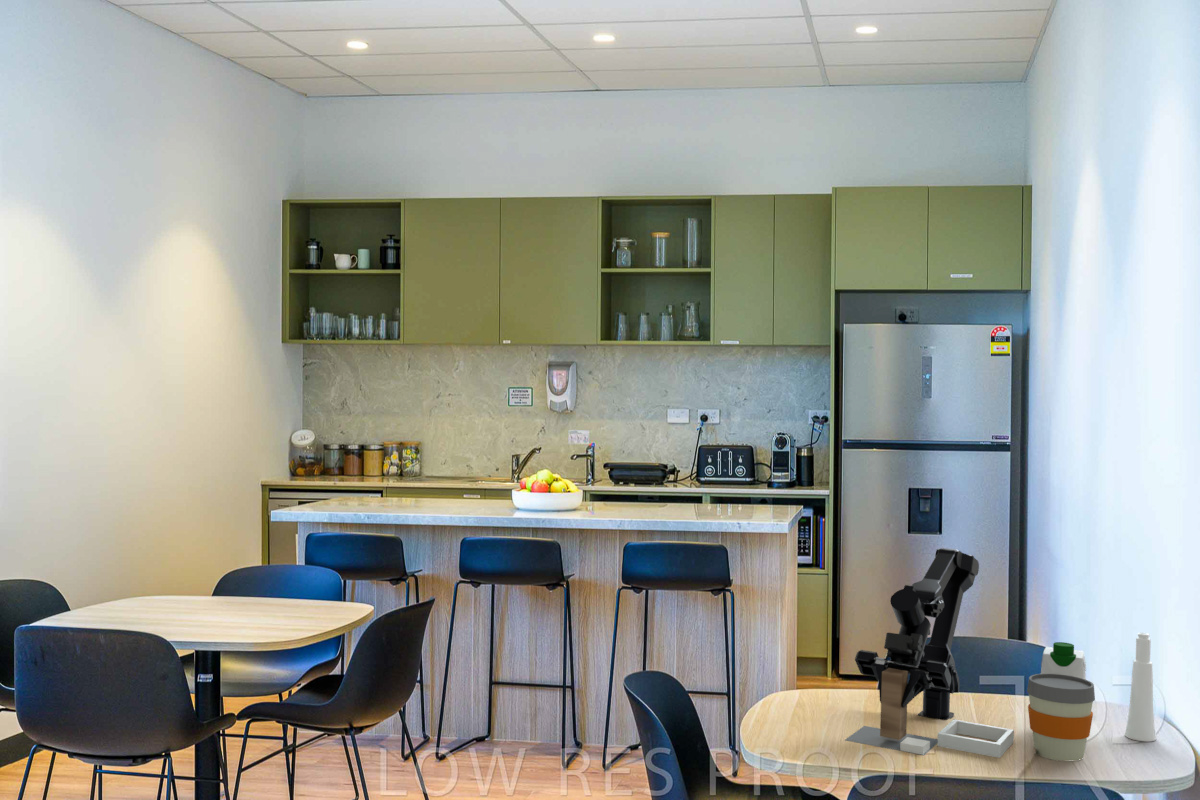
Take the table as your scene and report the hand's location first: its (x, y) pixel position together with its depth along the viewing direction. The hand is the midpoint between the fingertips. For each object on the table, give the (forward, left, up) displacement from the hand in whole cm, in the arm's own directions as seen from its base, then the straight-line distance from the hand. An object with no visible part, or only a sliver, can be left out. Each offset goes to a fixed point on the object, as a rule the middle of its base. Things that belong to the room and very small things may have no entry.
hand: (891, 704), depth 229 cm
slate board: (-1, 0, -9) cm, 9 cm away
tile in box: (-9, +15, -8) cm, 19 cm away
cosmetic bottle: (-40, +41, -9) cm, 58 cm away
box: (-9, +15, -9) cm, 19 cm away
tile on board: (+2, +6, -7) cm, 10 cm away
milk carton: (-30, +27, -9) cm, 41 cm away
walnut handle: (-1, 0, -7) cm, 7 cm away
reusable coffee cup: (-16, +29, -9) cm, 34 cm away
